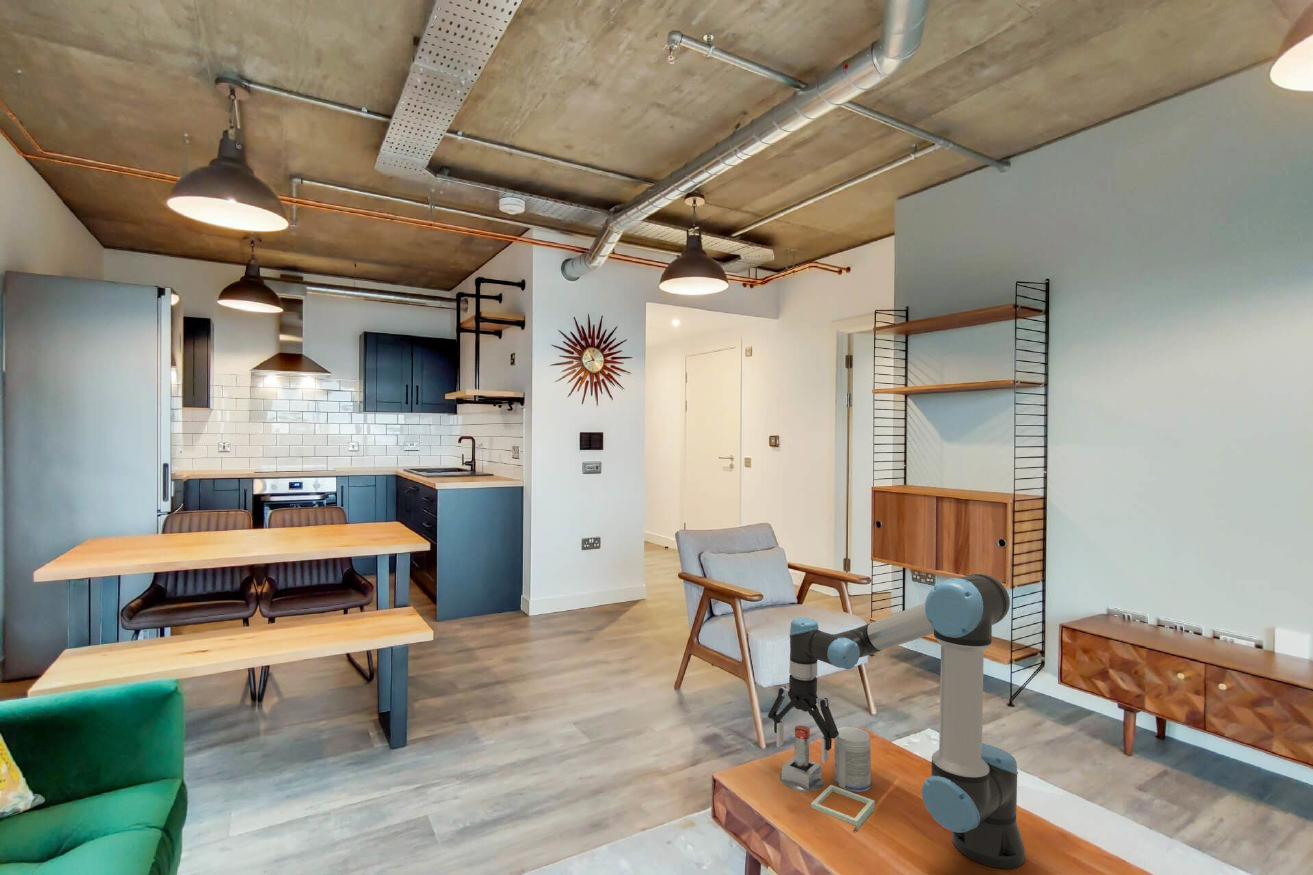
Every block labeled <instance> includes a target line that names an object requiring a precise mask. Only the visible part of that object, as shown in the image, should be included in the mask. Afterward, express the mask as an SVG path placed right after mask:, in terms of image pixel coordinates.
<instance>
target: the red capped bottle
mask: <svg viewBox="0 0 1313 875" xmlns="http://www.w3.org/2000/svg"><path fill="white" fill-rule="evenodd" d="M810 732H811V730H810V727H808V726H806V725H796V726H795V727H794V755H793V756H794V767H795V768H798V769H800V770H803V771H807V770H809V760H810V746H811V745H810V742H811V740H810V735H811V734H810Z"/></svg>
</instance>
